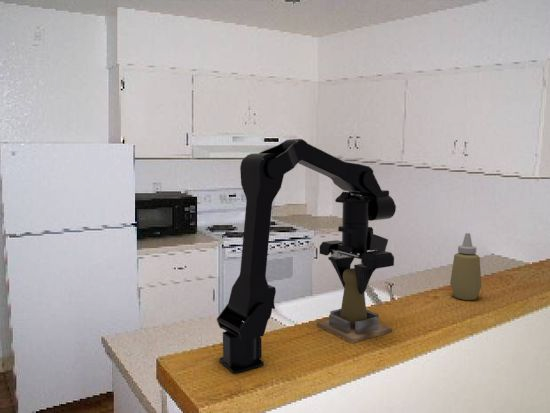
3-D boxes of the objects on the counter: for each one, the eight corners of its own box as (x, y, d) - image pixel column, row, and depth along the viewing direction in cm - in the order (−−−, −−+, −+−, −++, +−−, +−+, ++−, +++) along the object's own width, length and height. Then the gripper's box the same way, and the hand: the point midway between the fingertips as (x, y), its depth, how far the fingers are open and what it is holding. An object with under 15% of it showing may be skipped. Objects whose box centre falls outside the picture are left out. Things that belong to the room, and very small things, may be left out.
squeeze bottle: (471, 304, 122) (474, 237, 120) (443, 297, 129) (446, 233, 127) (486, 298, 127) (489, 233, 126) (459, 291, 134) (461, 230, 132)
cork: (334, 316, 105) (335, 268, 104) (352, 310, 109) (352, 264, 108) (355, 323, 100) (356, 273, 99) (372, 317, 104) (373, 269, 103)
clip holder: (351, 343, 97) (351, 328, 96) (316, 325, 107) (316, 312, 106) (392, 331, 103) (392, 317, 103) (355, 316, 113) (355, 303, 113)
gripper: (413, 224, 99) (410, 295, 100) (354, 215, 114) (352, 277, 116) (375, 228, 93) (373, 304, 94) (318, 218, 108) (317, 283, 110)
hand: (353, 290), depth 104 cm, fingers closed on cork, 5 cm apart
